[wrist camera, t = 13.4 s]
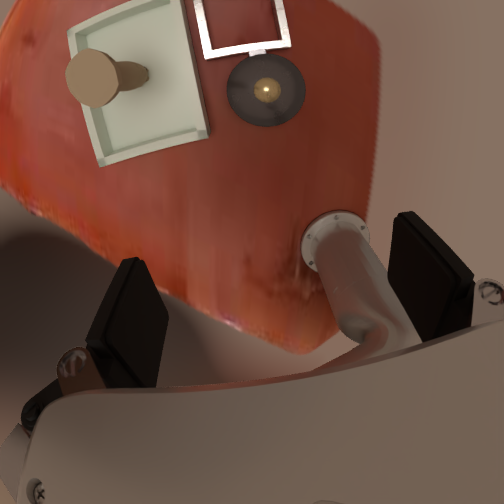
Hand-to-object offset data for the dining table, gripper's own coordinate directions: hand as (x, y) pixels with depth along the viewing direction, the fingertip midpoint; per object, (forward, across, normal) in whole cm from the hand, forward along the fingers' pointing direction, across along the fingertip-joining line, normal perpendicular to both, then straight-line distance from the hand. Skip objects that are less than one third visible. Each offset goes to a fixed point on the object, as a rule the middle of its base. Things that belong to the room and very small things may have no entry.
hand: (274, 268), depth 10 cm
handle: (+32, +13, -11) cm, 36 cm away
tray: (+33, +13, -11) cm, 37 cm away
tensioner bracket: (+33, -2, -11) cm, 35 cm away
